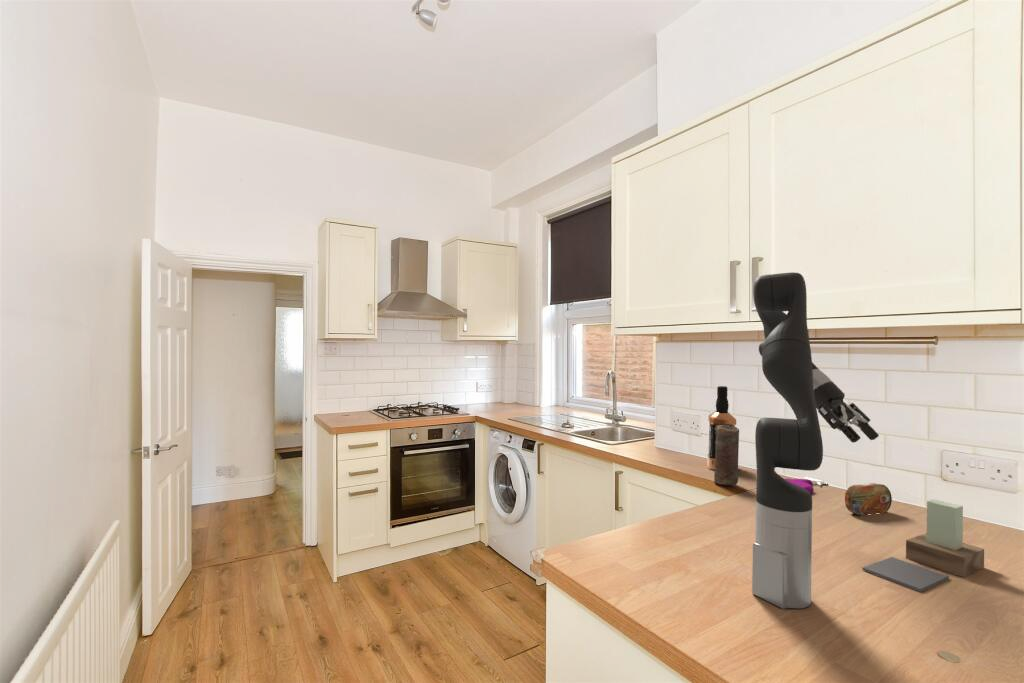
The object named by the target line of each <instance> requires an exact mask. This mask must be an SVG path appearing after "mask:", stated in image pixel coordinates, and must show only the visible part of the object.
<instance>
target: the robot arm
mask: <svg viewBox="0 0 1024 683" xmlns="http://www.w3.org/2000/svg"><path fill="white" fill-rule="evenodd" d="M752 292H753V293H752V294H753V302H754V307H755V310H756V312H757V314H758V317H759V320H760V321H761V324H762V327H763V336H764V339H765V340H763V341H762V342H760V343H759V344H758V352H759V354H760V356H761V365H762V368H761V369H762V372H763V376H764V377H765V379H766V380H767V381H768V383H769V384H770V385H771V386H772V387H773V389H774V390H775V391H776V392H777V393H778V394H779V395H780V396H781V397H782V398H783V399H784V400H785V401H786V402H787V404H788V405H789V407H790V408H791V410H792V411H793V413H794V415H795V418H796V419H794V418H783V417H781V418H780V417H778V418H777V417H761V418H760V419H758V421H757V423H756V426H755V433H754V434H755V435H754V436H755V438H754V440H755V441H754V442H755V463H756V486H755V487H756V490H755V542H754V543H753V544H752V578H751V579H752V580H751V589H752V590H751V593H752V594H753V595H755V596H757V597H758V598H760V599H763V600H765V601H767V602H769V603H771V604H773V605H775V606H777V607H778V608H781V609H783V610H785V609H805V608H808V607H809V606H811V604H812V554H813V553H812V551H813V550H812V549H813V548H812V544H813V538H812V537H813V535H812V534H813V532H812V531H813V495H812V493H811V494H810V492H809V491H807V490H806V489H804V488H802V487H800V486H798V485H795V484H793V483H791V482H789V481H787V480H785V479H786V478H783V476H780V475H779V474H778V473H777V472H776V471H775V470H776V468H779V469H788V470H797V471H798V470H800V471H811V472H813V471H816V470H818V469H819V468H820V467H821V465H822V464H823V463H822V462H823V459H824V446H823V437H822V432H821V425H820V420H819V415H820V416H821V417H822V418H823V419H824V421H826V423H827V424H828V425H829V426H830V428H832V429H833V430H836V429H837V430H838V431H839V432H842V433H843V435H845V437H846V438H847V439H848V440H849V441H850V442H851V443H852V444H853V443H857V442H858V441H859V440H861V436H860V435H859V434H858V433H857V432H856V430H855V429H854V428H853V427H852V426H851V425H854V426H856V427H857V428H859V430H860V431H861V432H862V433H863V434H864V435H865V436H866V437H867V438H868V439H869V440H870V441H874V440H876V439H877V438H879V437H880V436H879V434H878V433H877V431H876V430H875V429H874V428H873V427H872V426H871V425H870V424H869V423H870V422H871V419H870V417H868V416H867V415H866V414H865V413H864V412H863V411H862V410H861V409H860V408H859V407H858V406H857V405H856V404H855V403H854V402H851V403H850V404H847V403H846V402H845V401H844V398H845V396H846V394H845V392H843V391H842V389H841V388H840V387H838V386H837V384H835V382H834V381H833V380H831V378H830V377H829V376H828V375H827V374H825V373H824V372H823V371H822V370H820V368H819V367H817V366H816V364H815V363H813V358H812V350H811V344H810V343H811V342H810V337H809V330H808V319H807V318H808V316H807V312H808V311H807V309H808V307H807V285H806V281H805V278H804V276H803V275H802V274H801V273H799V272H792V271H791V272H781V273H773V274H771V273H770V274H764V275H759V276H757V277H756V278H755V279H754V282H753V289H752ZM786 312H787V313H786ZM818 414H819V415H818Z"/></svg>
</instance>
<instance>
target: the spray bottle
mask: <svg viewBox="0 0 1024 683" xmlns="http://www.w3.org/2000/svg"><path fill="white" fill-rule="evenodd" d="M784 479H785V480H787V481H789V482H791V483H793V484H795V485H798V486H800V487H802V488H804V489H806V490H807V491H809V492H810V494H811V495H812V494H813V493H814V488H813V485H819V486H823V485H822V484H826V483H824V482H823V481H824V480H822V481H821V480H820V479H816V478H812V477H805V476H804V477H803V478H784Z"/></svg>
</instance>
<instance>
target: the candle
mask: <svg viewBox="0 0 1024 683" xmlns="http://www.w3.org/2000/svg"><path fill="white" fill-rule="evenodd" d="M739 444H740V429H739V428H738V427H737V426H735V427H734V426H729V425H718V426H717V428H716V453H715V470H714V476H713V477H714V478H713V480H714V481H713V482H714V483H715V484H718V485H722V486H728V487H733V486H736V485H737V484H738V482H739V446H740V445H739Z"/></svg>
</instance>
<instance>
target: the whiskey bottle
mask: <svg viewBox="0 0 1024 683" xmlns="http://www.w3.org/2000/svg"><path fill="white" fill-rule="evenodd" d="M716 389H717V390H716V392H717V393H716V395H717V398H716V400H715V409H716V410H715V411H714V412H712V413H711V414H709V415H708V417H707V420H708V422H709V431H708V433H709V434H708V453H707V457H706V458H707V459H706V464H707V467H708V468H707V469H709V470H713V471H715V453H716V428H717V426H718V425H729V426H734V427H736V425H737V418H735V417H734V416H733V415H732V414H731V413H730V412H729V407H730V406H729V400H728V391H729V390H728V386H726V385H725V386H724V385H718V386H717V388H716Z"/></svg>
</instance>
